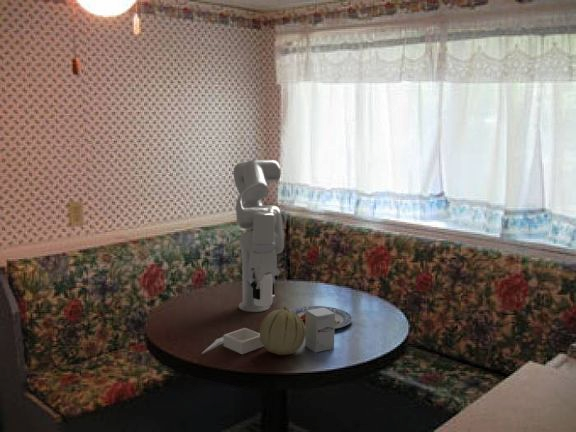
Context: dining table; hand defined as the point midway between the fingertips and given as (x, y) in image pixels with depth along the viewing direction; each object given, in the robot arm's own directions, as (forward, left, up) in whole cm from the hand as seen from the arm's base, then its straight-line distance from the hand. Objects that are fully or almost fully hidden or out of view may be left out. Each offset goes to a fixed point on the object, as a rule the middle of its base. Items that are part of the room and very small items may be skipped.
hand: (263, 295), depth 204 cm
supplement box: (-4, +23, -14) cm, 27 cm away
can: (0, 0, -3) cm, 3 cm away
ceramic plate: (-22, +6, -14) cm, 27 cm away
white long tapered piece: (+20, -3, -14) cm, 25 cm away
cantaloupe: (+8, +18, -14) cm, 24 cm away
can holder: (+13, +4, -14) cm, 19 cm away
